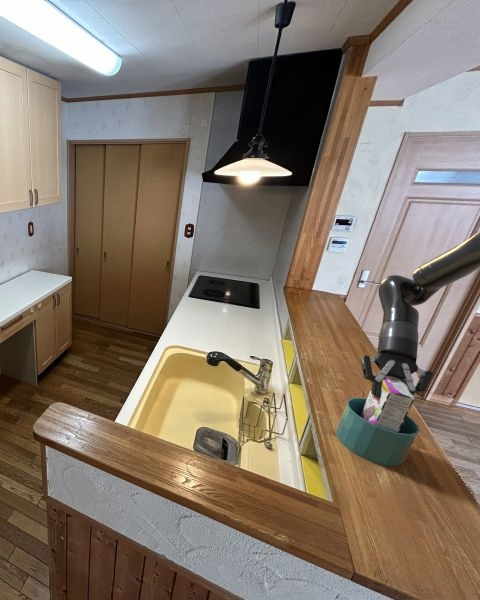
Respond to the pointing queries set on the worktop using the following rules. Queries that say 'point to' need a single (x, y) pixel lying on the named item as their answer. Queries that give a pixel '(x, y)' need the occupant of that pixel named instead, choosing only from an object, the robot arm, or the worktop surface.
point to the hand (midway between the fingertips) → (391, 401)
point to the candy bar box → (389, 405)
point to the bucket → (375, 436)
